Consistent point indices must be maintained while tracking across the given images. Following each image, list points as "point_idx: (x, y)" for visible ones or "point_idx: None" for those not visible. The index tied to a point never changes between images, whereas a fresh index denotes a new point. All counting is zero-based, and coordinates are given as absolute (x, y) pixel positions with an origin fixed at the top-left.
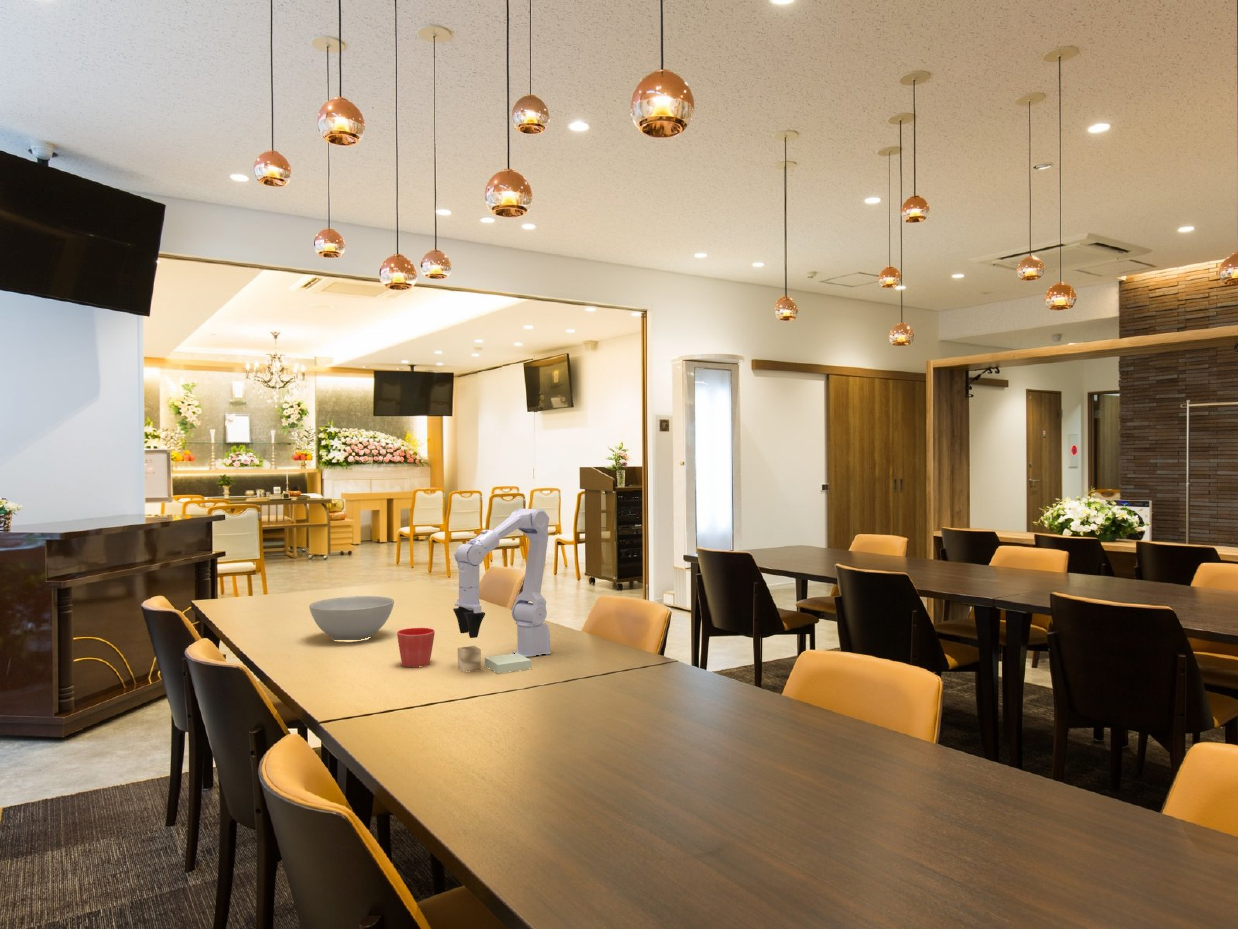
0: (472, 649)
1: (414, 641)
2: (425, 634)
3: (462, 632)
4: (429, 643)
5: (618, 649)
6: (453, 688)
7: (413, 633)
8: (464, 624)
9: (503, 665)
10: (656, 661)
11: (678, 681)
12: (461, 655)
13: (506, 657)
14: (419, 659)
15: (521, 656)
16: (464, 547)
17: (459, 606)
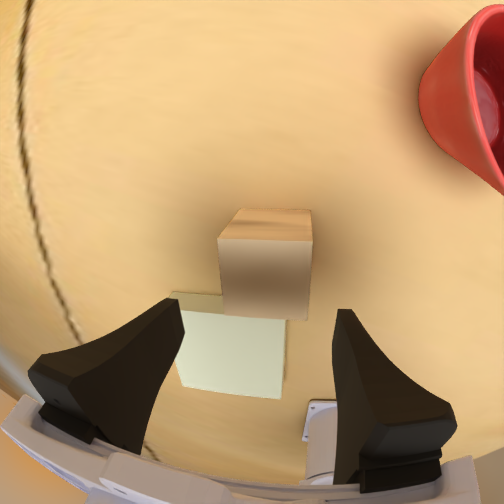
0: (234, 286)
1: (453, 46)
2: (470, 105)
3: (338, 319)
4: (457, 140)
5: (264, 480)
6: (82, 129)
7: None
8: (341, 368)
9: None
10: (172, 465)
11: None
12: (254, 229)
13: (244, 364)
14: (424, 91)
15: (235, 391)
16: None
17: (421, 471)
